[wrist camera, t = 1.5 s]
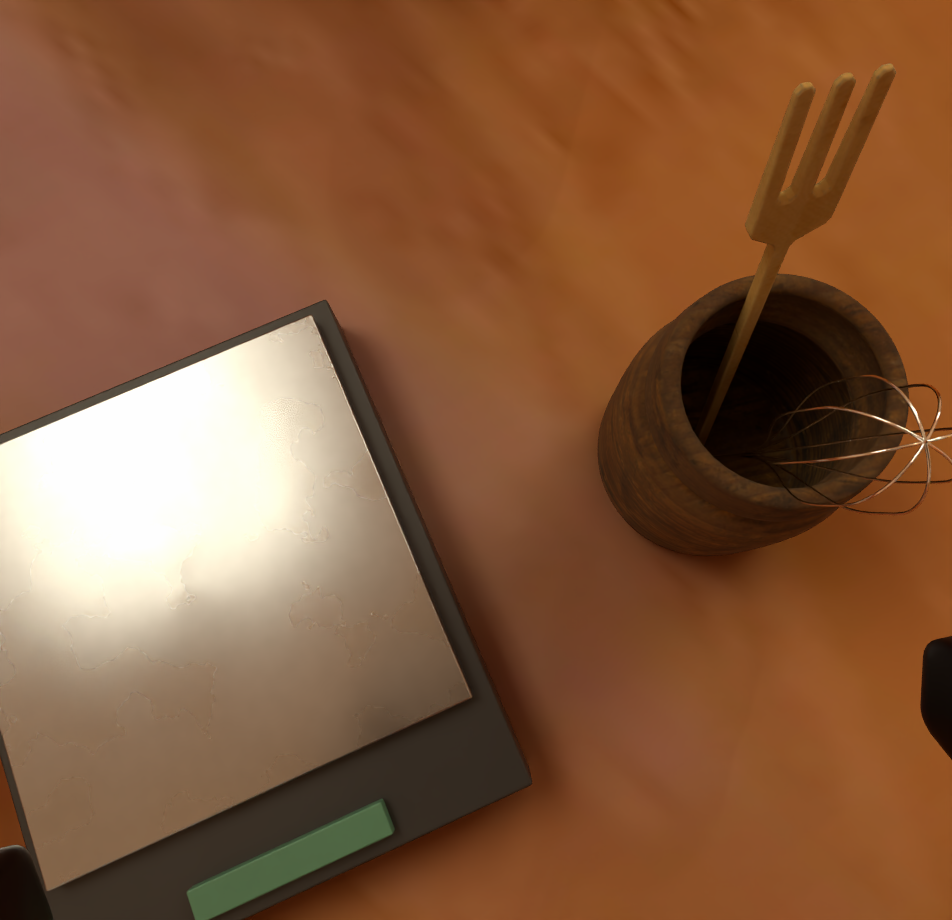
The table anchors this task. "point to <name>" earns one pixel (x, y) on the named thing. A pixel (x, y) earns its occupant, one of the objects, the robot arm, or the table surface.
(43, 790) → the kitchen scale
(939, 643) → the robot arm
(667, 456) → the utensil holder
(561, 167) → the table surface
